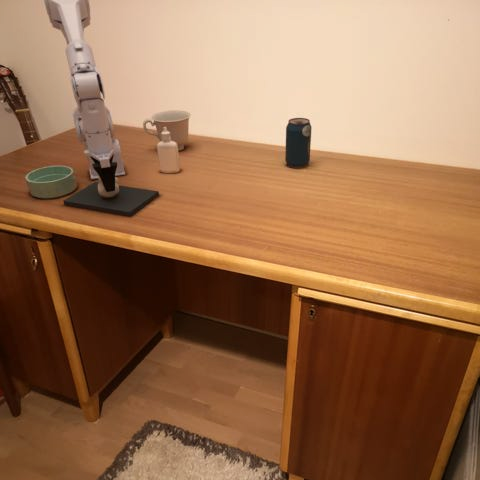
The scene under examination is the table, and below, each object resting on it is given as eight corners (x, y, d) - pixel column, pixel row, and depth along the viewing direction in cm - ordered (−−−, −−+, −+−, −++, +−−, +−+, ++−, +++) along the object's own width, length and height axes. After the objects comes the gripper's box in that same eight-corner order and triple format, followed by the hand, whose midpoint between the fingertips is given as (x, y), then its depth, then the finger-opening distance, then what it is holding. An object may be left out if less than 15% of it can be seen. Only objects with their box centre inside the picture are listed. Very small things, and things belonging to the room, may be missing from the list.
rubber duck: (93, 198, 116) (86, 167, 111) (111, 189, 120) (104, 158, 115) (110, 202, 114) (103, 170, 109) (127, 192, 118) (121, 161, 113)
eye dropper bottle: (172, 175, 130) (166, 131, 122) (158, 171, 132) (151, 127, 125) (182, 170, 132) (177, 126, 125) (168, 166, 135) (162, 123, 128)
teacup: (144, 146, 151) (139, 114, 144) (189, 140, 154) (186, 108, 147) (150, 158, 141) (144, 124, 135) (197, 151, 145) (194, 118, 138)
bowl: (76, 178, 130) (72, 163, 127) (78, 194, 121) (74, 178, 118) (31, 185, 127) (26, 169, 125) (30, 202, 118) (24, 185, 116)
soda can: (313, 166, 131) (316, 122, 124) (291, 170, 129) (293, 125, 122) (302, 158, 136) (304, 115, 129) (281, 162, 134) (281, 119, 127)
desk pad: (159, 195, 119) (158, 191, 118) (130, 216, 110) (129, 212, 109) (96, 185, 126) (95, 181, 125) (64, 205, 116) (62, 200, 116)
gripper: (77, 124, 112) (90, 179, 120) (81, 141, 101) (95, 200, 109) (107, 120, 113) (118, 174, 122) (113, 137, 102) (125, 195, 111)
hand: (109, 186), depth 116 cm, fingers closed on rubber duck, 5 cm apart
